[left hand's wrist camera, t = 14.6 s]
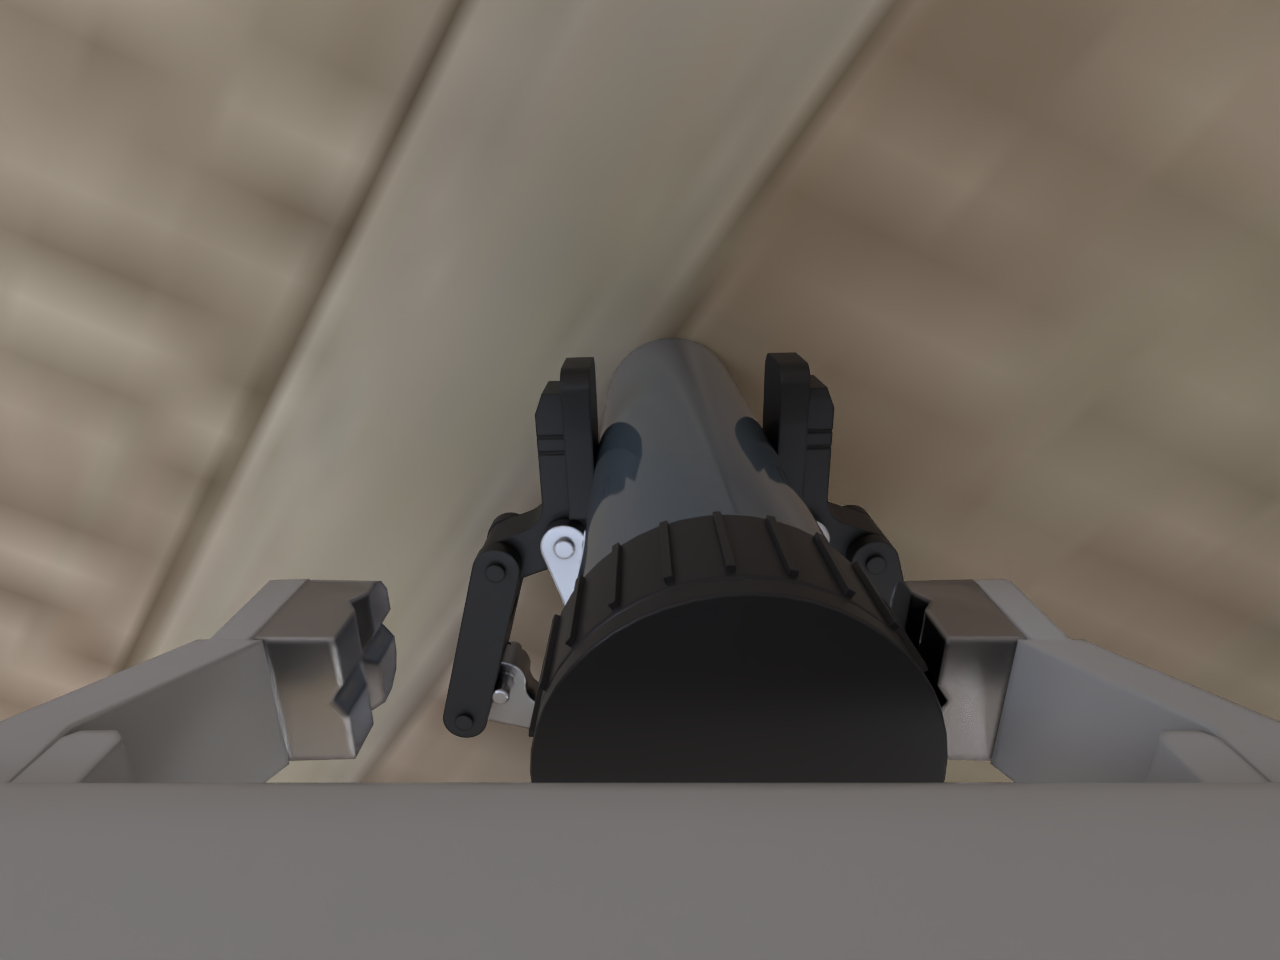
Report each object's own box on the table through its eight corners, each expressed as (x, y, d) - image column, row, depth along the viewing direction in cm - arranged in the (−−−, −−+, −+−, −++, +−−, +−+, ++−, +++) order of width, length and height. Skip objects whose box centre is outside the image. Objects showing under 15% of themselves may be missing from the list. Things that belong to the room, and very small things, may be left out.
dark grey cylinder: (645, 313, 23) (662, 517, 8) (759, 376, 24) (990, 681, 8) (585, 427, 25) (492, 801, 9) (695, 483, 26) (787, 919, 10)
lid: (474, 664, 10) (434, 775, 8) (734, 432, 9) (763, 494, 7) (705, 850, 11) (720, 985, 9) (962, 668, 10) (1041, 779, 8)
